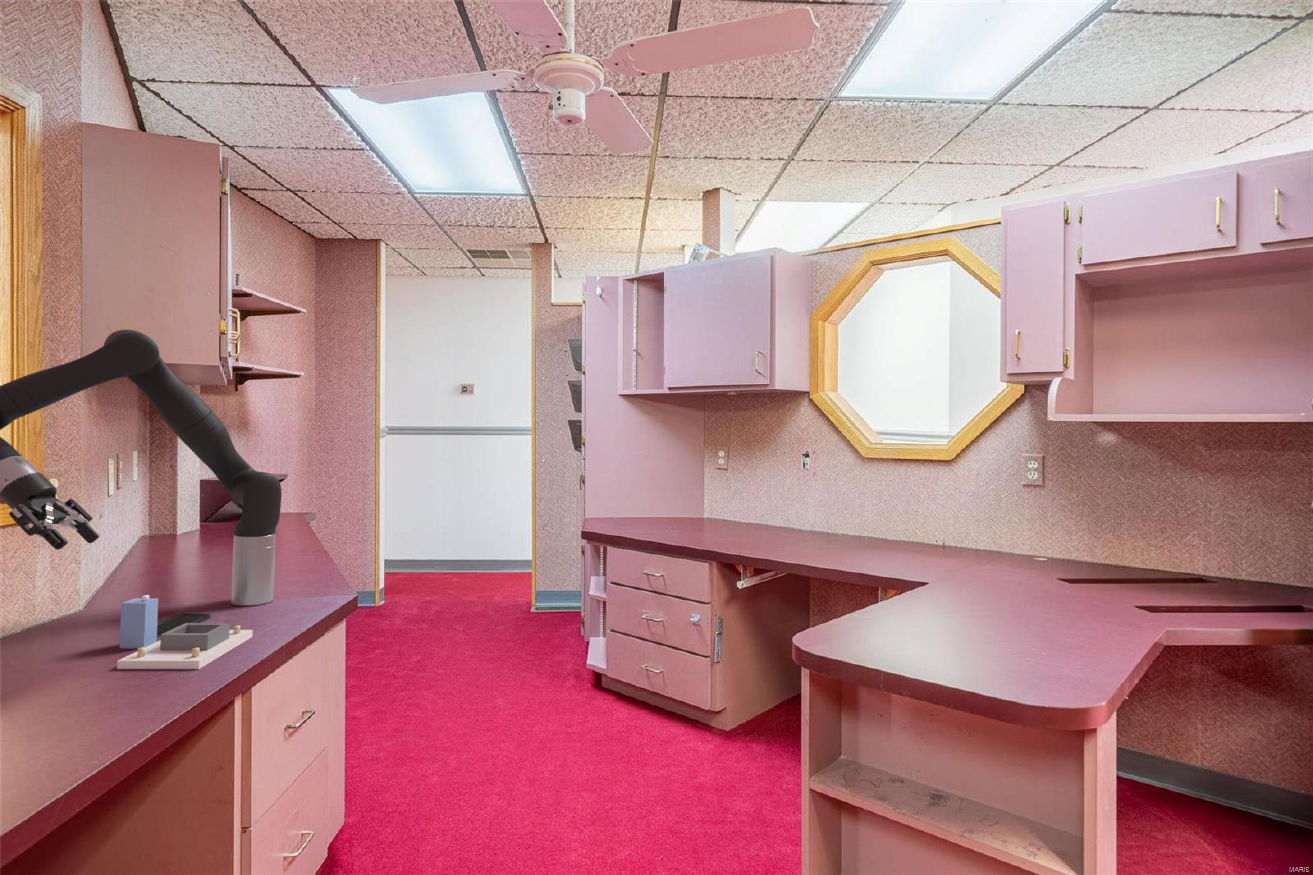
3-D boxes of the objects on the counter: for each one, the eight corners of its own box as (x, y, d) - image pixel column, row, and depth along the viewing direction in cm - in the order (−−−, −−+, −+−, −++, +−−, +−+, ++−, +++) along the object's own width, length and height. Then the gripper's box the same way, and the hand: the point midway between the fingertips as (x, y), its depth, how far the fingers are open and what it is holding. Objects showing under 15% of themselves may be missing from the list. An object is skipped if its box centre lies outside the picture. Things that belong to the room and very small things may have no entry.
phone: (212, 614, 158) (174, 632, 144) (212, 618, 158) (174, 637, 144) (176, 613, 158) (134, 631, 143) (176, 618, 158) (133, 637, 143)
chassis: (182, 636, 143) (183, 615, 143) (252, 636, 145) (253, 615, 145) (117, 668, 123) (118, 644, 123) (198, 669, 125) (199, 644, 125)
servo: (133, 642, 138) (134, 593, 138) (156, 642, 139) (158, 593, 139) (119, 648, 135) (121, 598, 135) (144, 648, 135) (145, 598, 135)
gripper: (4, 472, 128) (67, 535, 129) (62, 469, 142) (118, 526, 143) (-28, 500, 127) (35, 562, 128) (33, 494, 141) (90, 550, 142)
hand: (79, 543), depth 135 cm, fingers open, 8 cm apart
